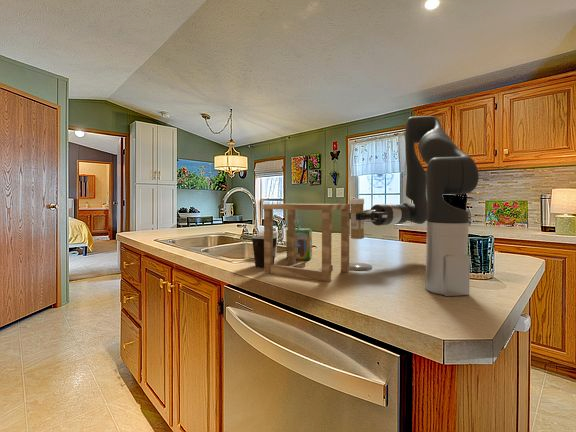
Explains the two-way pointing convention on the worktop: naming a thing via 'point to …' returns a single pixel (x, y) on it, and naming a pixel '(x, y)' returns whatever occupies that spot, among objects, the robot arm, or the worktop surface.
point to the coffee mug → (261, 250)
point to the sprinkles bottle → (357, 225)
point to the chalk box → (302, 243)
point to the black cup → (275, 233)
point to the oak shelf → (294, 269)
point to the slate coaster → (359, 266)
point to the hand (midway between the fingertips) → (351, 216)
